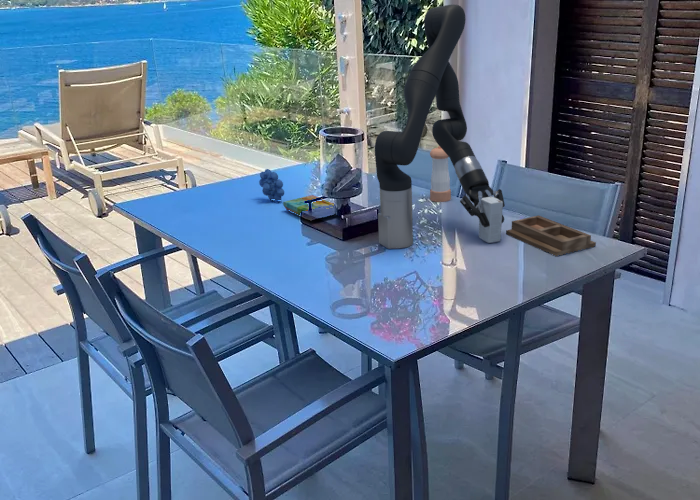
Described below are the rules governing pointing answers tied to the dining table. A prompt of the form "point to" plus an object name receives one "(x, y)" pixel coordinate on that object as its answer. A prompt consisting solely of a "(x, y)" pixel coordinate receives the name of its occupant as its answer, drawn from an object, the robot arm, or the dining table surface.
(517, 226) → the rack
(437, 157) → the salt shaker
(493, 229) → the skincare box
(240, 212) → the dining table surface
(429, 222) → the dining table surface
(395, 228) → the robot arm
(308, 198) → the puzzle game
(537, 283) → the dining table surface
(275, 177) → the grapes
